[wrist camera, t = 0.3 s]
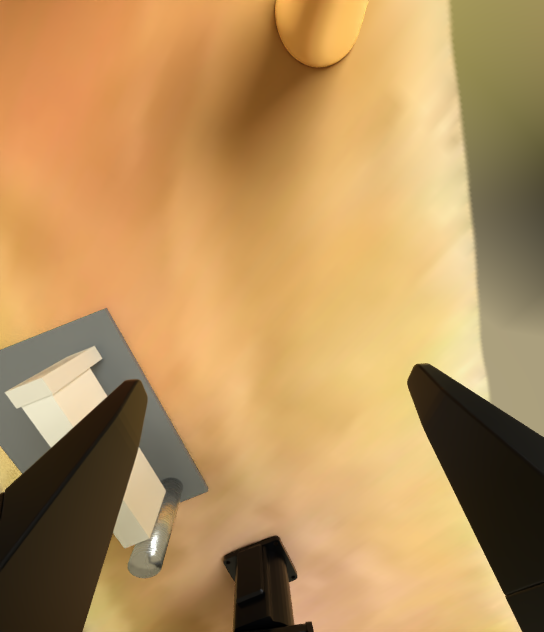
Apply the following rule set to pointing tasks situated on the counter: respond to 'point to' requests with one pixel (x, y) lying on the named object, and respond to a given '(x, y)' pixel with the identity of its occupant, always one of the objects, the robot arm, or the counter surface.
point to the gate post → (157, 534)
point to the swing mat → (114, 368)
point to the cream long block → (67, 411)
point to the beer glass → (319, 28)
